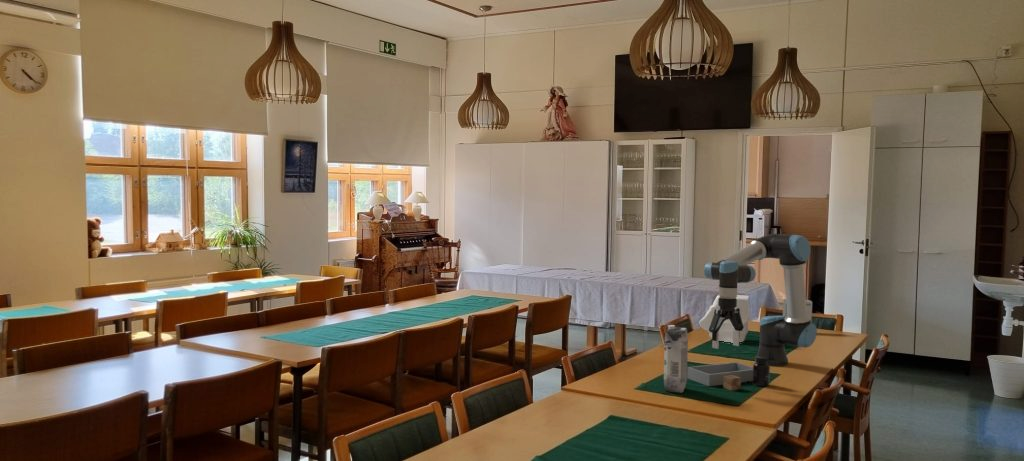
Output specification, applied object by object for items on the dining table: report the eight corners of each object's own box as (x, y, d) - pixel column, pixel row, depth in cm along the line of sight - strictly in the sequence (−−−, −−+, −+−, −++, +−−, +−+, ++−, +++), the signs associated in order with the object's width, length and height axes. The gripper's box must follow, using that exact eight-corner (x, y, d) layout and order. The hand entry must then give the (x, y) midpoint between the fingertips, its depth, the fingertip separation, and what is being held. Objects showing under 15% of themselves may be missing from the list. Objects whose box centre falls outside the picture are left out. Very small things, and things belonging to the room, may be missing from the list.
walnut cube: (732, 386, 308) (732, 375, 308) (740, 389, 304) (740, 377, 304) (723, 387, 306) (723, 376, 306) (731, 390, 302) (731, 378, 302)
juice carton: (687, 387, 305) (688, 324, 304) (684, 394, 295) (686, 328, 294) (665, 385, 308) (667, 323, 307) (662, 391, 298) (664, 327, 297)
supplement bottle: (770, 387, 308) (771, 359, 307) (753, 386, 309) (754, 358, 308) (768, 383, 314) (768, 356, 314) (751, 382, 316) (752, 355, 315)
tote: (735, 372, 333) (736, 362, 333) (758, 380, 319) (759, 369, 319) (687, 378, 321) (687, 367, 321) (708, 386, 308) (709, 374, 308)
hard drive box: (784, 333, 435) (785, 300, 434) (781, 331, 442) (782, 298, 442) (811, 334, 432) (812, 301, 432) (808, 332, 440) (809, 299, 439)
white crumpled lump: (744, 346, 395) (746, 299, 394) (697, 339, 411) (698, 295, 410) (756, 340, 412) (757, 295, 411) (710, 334, 428) (711, 291, 427)
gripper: (738, 295, 318) (736, 343, 319) (701, 297, 303) (699, 347, 304) (753, 297, 312) (751, 345, 312) (715, 299, 297) (713, 351, 298)
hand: (725, 346), depth 308 cm, fingers open, 13 cm apart
